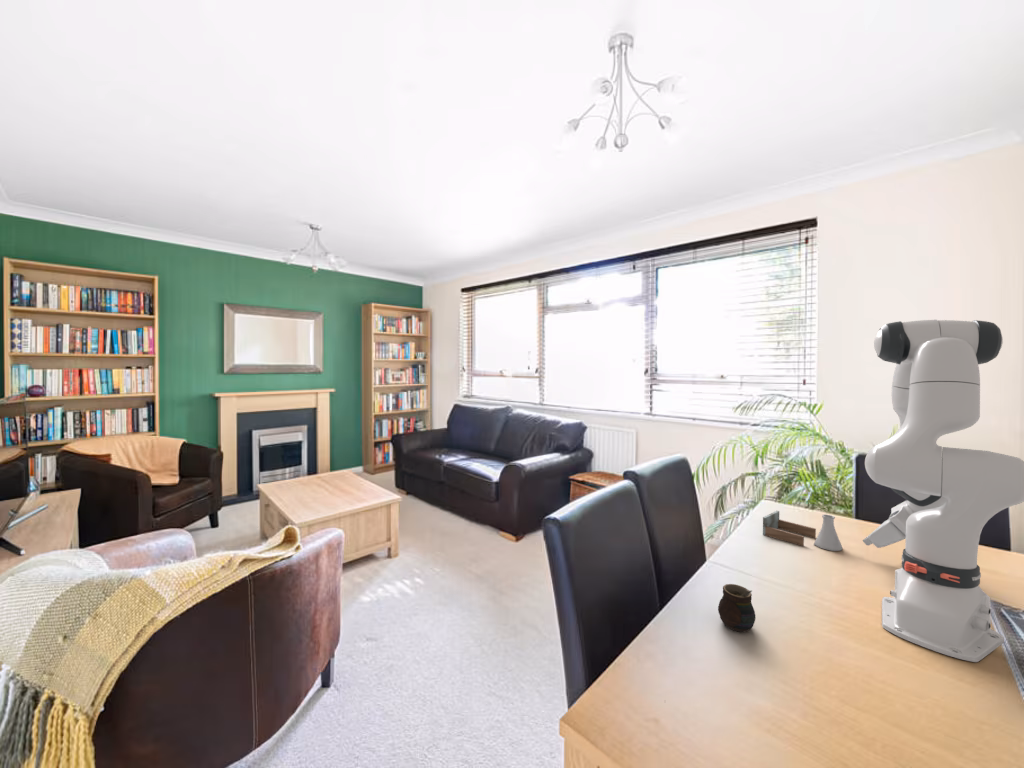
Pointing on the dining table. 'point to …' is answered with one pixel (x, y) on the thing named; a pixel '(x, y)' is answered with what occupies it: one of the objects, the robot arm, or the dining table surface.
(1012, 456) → the robot arm
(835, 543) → the flask
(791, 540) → the slot bay
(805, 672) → the dining table surface
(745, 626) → the mate gourd
